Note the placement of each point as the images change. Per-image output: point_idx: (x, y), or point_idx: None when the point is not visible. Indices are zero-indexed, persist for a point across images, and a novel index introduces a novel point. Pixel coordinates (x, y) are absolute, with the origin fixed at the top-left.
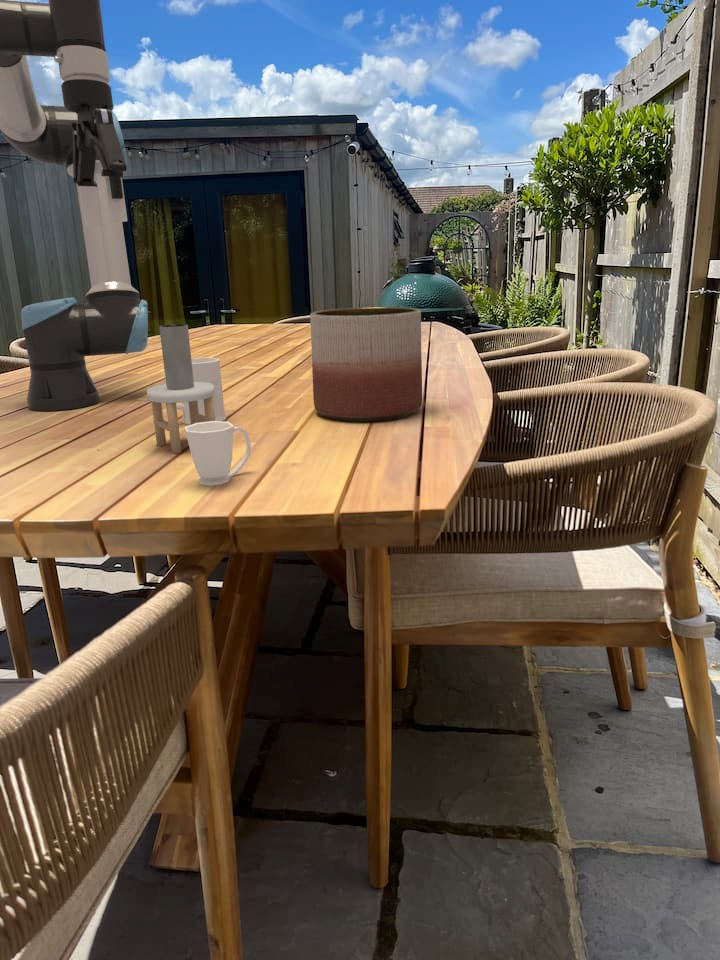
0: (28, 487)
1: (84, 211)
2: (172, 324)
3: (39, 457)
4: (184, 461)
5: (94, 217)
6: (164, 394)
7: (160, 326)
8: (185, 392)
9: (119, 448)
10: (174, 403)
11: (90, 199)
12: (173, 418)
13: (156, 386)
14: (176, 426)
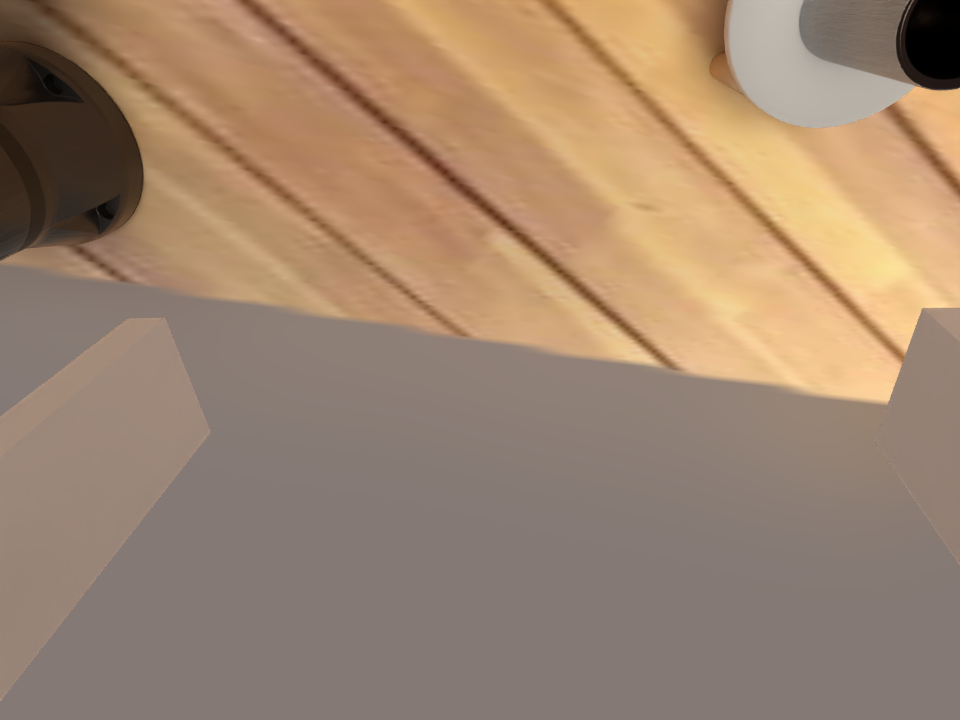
0: (799, 363)
1: (139, 513)
2: (913, 3)
3: (608, 312)
4: None
5: (138, 406)
6: (897, 98)
7: (944, 88)
8: None
9: (668, 165)
10: None
11: (18, 554)
12: None
13: (748, 73)
14: None
